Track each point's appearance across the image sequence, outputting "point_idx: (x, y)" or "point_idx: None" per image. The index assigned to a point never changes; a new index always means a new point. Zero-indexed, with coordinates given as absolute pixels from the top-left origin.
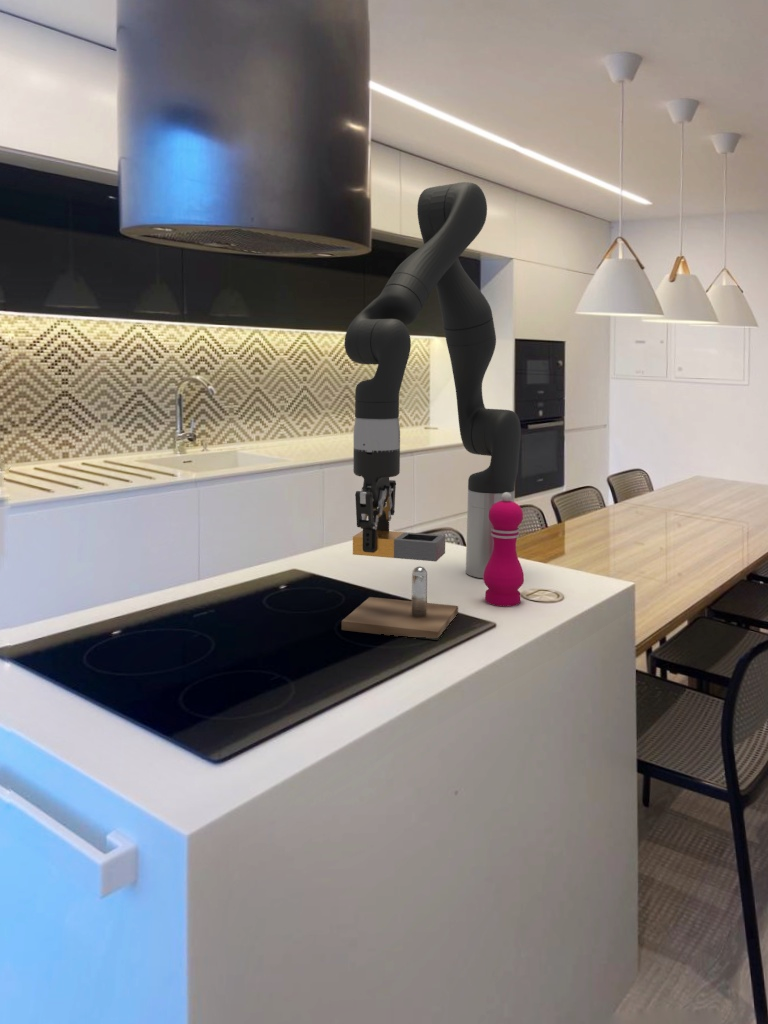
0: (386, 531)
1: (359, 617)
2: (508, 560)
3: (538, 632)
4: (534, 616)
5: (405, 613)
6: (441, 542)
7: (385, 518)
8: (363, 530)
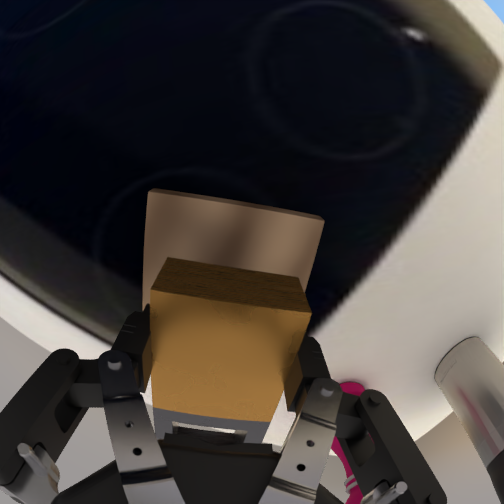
0: (276, 384)
1: (177, 222)
2: (337, 454)
3: (218, 428)
4: (279, 425)
5: None
6: None
7: (296, 415)
8: (125, 351)
